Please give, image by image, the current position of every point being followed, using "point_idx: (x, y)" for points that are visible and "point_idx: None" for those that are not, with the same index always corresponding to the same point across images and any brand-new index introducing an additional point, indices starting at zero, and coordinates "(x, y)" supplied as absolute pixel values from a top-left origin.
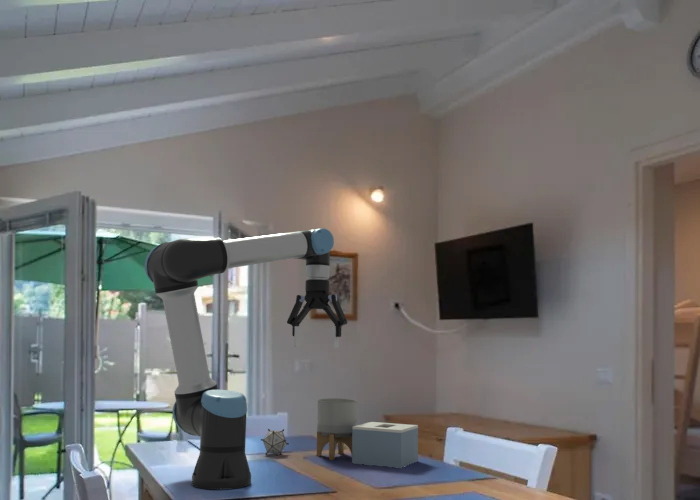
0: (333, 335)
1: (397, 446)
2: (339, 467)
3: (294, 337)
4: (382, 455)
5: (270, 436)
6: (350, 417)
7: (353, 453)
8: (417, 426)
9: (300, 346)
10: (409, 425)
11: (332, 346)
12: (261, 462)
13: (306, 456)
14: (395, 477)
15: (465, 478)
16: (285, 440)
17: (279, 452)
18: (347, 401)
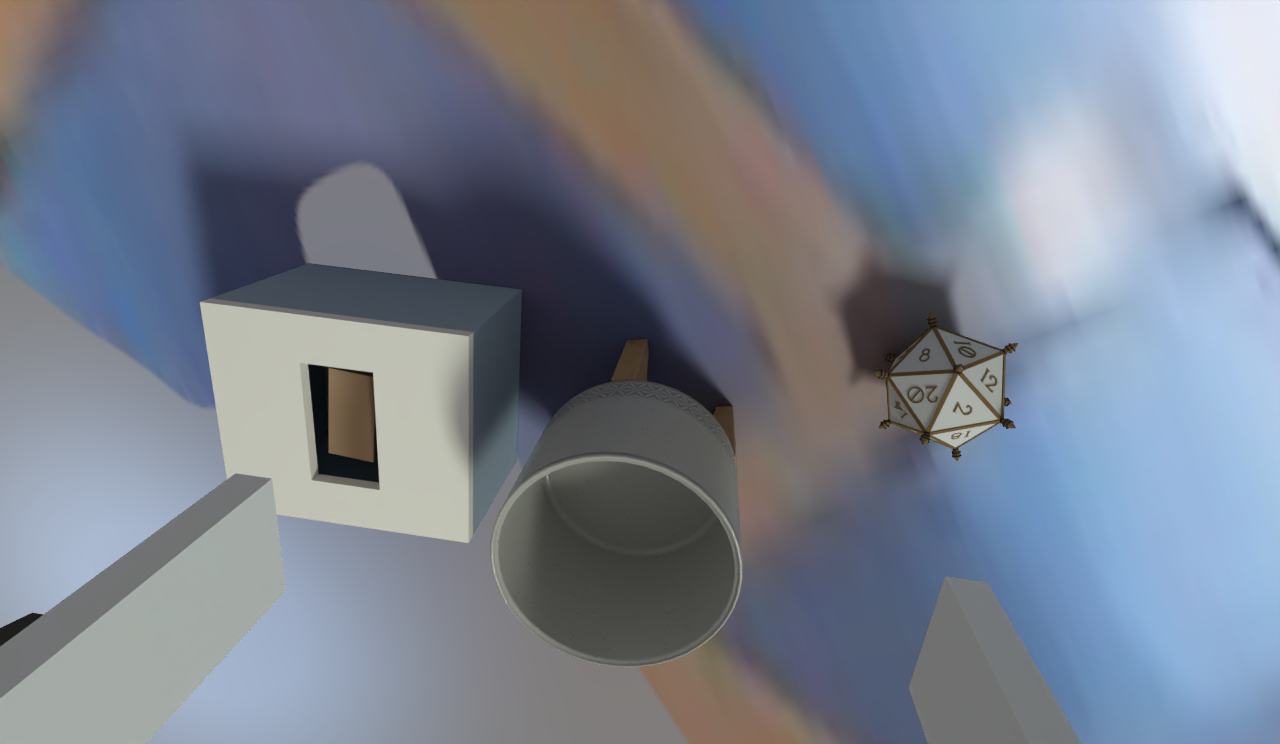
0: (86, 609)
1: (269, 284)
2: (530, 180)
3: (1066, 720)
4: (364, 282)
5: (967, 358)
6: (525, 464)
7: (503, 298)
8: None
9: (911, 691)
10: None
11: (256, 488)
12: (911, 143)
13: (767, 373)
14: (238, 62)
15: (28, 168)
16: (879, 370)
17: (898, 356)
18: (594, 646)
